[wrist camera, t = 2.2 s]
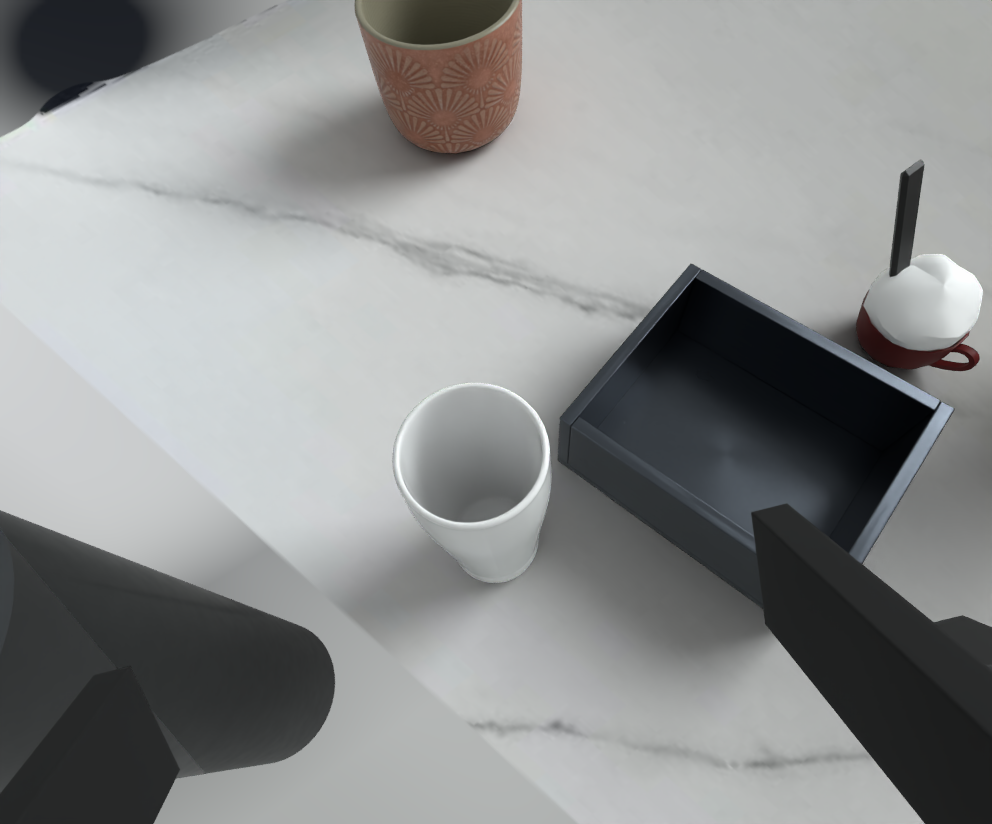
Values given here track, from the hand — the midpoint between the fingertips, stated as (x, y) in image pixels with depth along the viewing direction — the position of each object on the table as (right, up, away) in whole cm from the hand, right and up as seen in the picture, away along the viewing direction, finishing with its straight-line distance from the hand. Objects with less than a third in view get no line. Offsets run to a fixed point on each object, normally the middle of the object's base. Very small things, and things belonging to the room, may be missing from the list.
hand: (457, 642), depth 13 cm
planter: (-3, +31, +44) cm, 53 cm away
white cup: (+1, -3, +27) cm, 27 cm away
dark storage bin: (+16, +2, +28) cm, 32 cm away
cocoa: (+28, +10, +31) cm, 43 cm away
